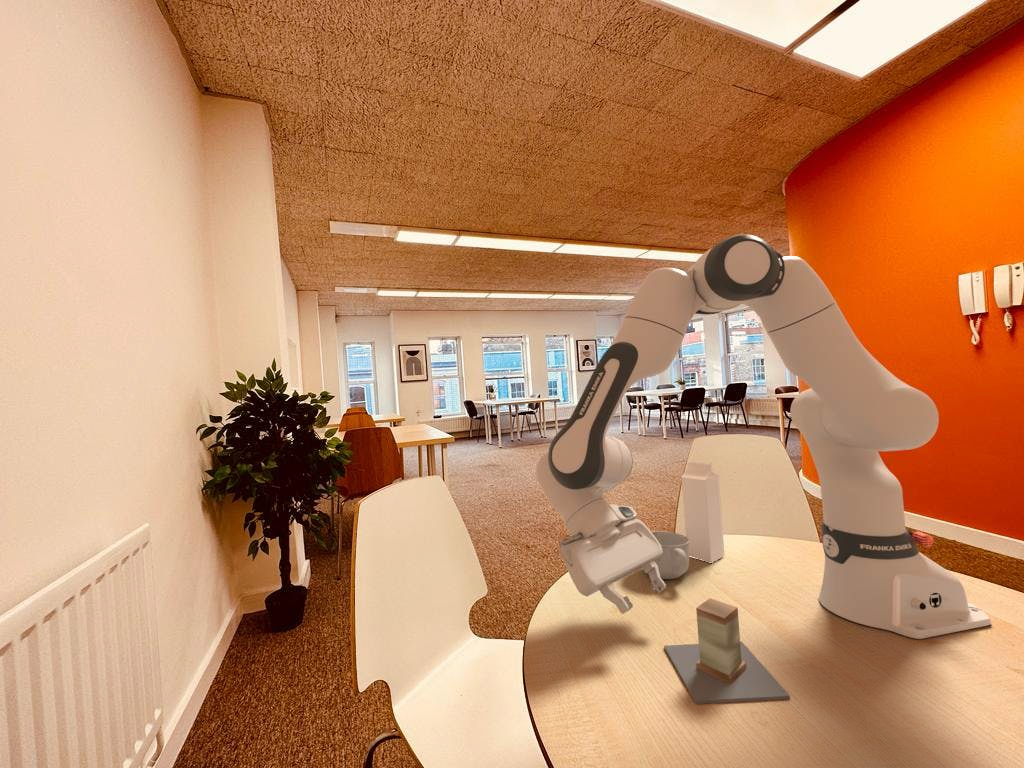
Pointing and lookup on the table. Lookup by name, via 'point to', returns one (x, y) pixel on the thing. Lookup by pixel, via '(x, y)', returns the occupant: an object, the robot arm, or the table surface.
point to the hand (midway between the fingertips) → (645, 600)
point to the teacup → (672, 554)
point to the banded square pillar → (719, 640)
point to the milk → (702, 512)
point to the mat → (710, 689)
